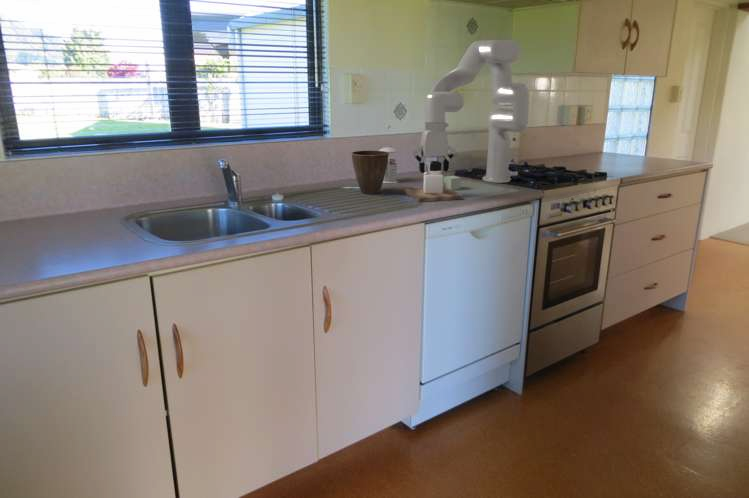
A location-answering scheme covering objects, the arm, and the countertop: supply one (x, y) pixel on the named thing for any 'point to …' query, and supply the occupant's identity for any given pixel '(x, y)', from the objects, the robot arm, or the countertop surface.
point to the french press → (390, 166)
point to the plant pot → (370, 169)
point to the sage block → (452, 182)
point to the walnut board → (432, 195)
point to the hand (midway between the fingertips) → (433, 171)
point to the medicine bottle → (433, 178)
